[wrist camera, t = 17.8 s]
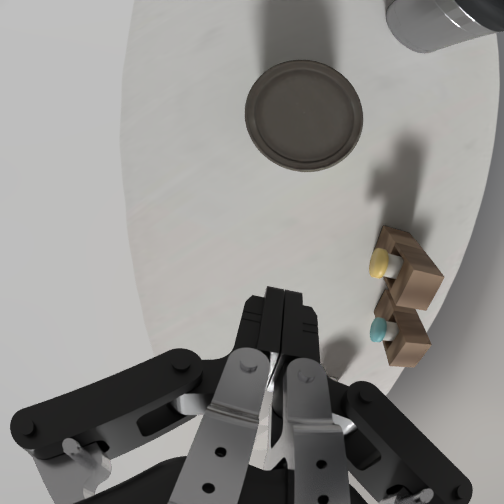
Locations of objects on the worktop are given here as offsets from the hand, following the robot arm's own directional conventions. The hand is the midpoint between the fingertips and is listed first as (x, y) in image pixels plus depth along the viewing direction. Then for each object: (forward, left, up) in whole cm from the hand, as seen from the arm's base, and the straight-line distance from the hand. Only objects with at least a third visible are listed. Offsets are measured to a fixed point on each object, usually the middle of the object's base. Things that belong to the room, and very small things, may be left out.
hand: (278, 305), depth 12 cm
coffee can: (-8, 0, -29) cm, 30 cm away
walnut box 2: (+18, +23, -29) cm, 41 cm away
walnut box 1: (+7, +18, -29) cm, 35 cm away
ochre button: (+7, +17, -23) cm, 29 cm away
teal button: (+18, +22, -23) cm, 36 cm away
